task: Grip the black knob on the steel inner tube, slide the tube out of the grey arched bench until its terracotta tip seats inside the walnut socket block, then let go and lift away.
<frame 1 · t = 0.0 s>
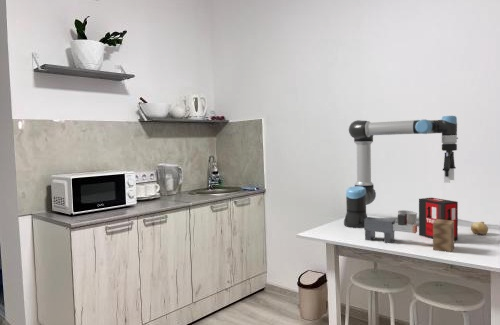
hand: (449, 181, 212), 28 cm above the table, tool pointing down, fingers open, 13 cm apart
socket block: (443, 248, 179), on the table
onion: (479, 234, 203), on the table
cleaning product box: (437, 238, 198), on the table
teacup: (405, 225, 229), on the table
grey arched bench: (379, 240, 197), on the table
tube: (394, 221, 192), point 10 cm above the table, slide at 0.0 cm
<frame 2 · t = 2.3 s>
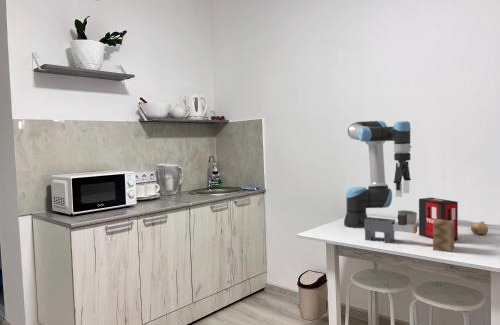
hand: (402, 194, 189), 25 cm above the table, tool pointing down, fingers open, 13 cm apart
nothing on the table moved.
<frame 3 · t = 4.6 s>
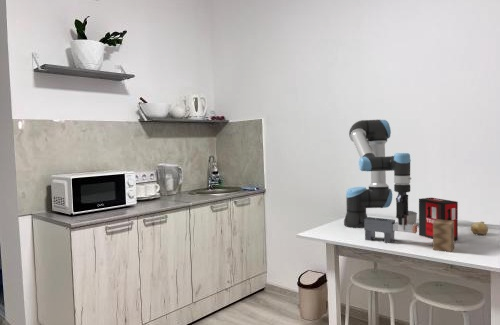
hand: (402, 229, 190), 7 cm above the table, tool pointing down, fingers closed on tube, 5 cm apart
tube: (394, 221, 192), point 10 cm above the table, slide at 0.0 cm, touching gripper
everything else where it was.
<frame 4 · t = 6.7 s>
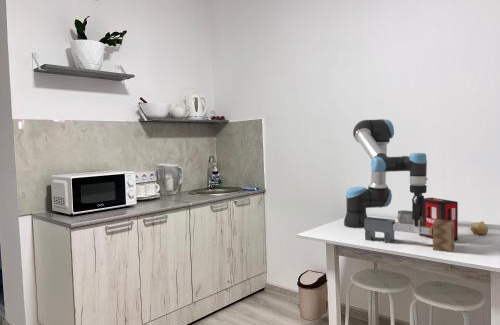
hand: (418, 231, 185), 7 cm above the table, tool pointing down, fingers closed on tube, 5 cm apart
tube: (409, 223, 187), point 10 cm above the table, slide at 7.4 cm, touching gripper
everything else where it was.
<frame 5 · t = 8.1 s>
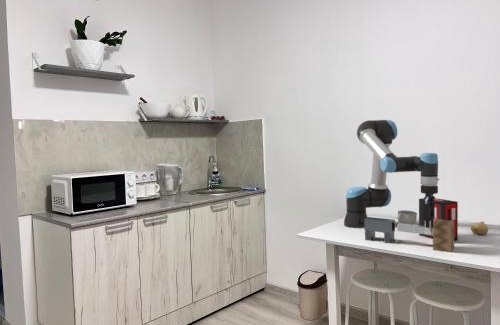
hand: (429, 232, 182), 7 cm above the table, tool pointing down, fingers closed on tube, 5 cm apart
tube: (420, 224, 184), point 10 cm above the table, slide at 12.4 cm, touching gripper
everything else where it was.
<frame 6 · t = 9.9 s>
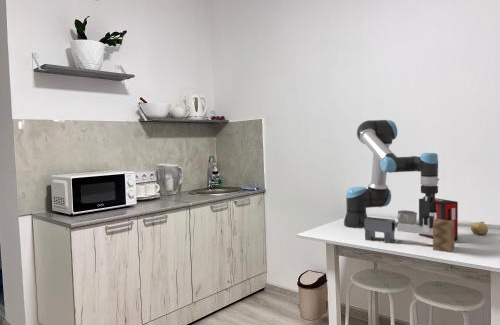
hand: (429, 228, 182), 9 cm above the table, tool pointing down, fingers open, 13 cm apart
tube: (420, 224, 184), point 10 cm above the table, slide at 12.5 cm
everything else where it was.
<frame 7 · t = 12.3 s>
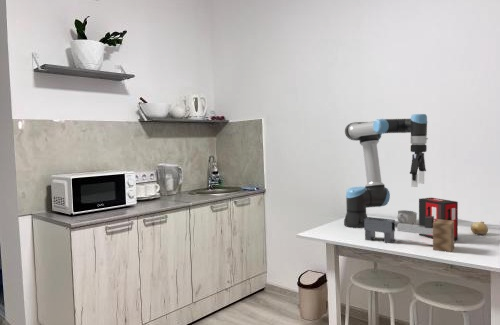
hand: (417, 185, 195), 28 cm above the table, tool pointing down, fingers open, 13 cm apart
nothing on the table moved.
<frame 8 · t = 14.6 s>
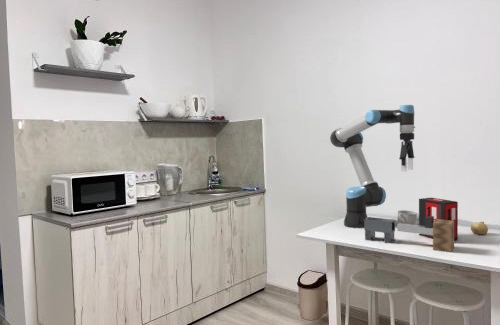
hand: (407, 170, 212), 35 cm above the table, tool pointing down, fingers open, 13 cm apart
nothing on the table moved.
at the end: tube slide at 12.5 cm; the gripper is holding nothing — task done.
